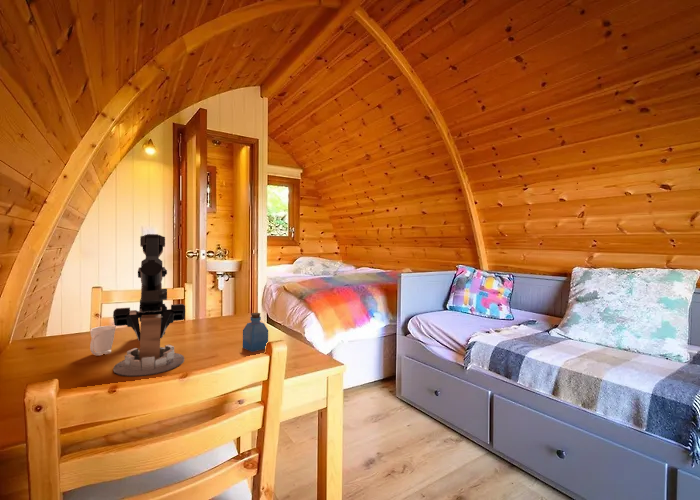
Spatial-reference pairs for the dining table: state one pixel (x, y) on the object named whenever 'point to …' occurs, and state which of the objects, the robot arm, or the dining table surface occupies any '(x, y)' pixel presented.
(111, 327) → the cup
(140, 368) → the castellated ring
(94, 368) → the dining table surface
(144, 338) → the walnut block
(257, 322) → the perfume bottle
